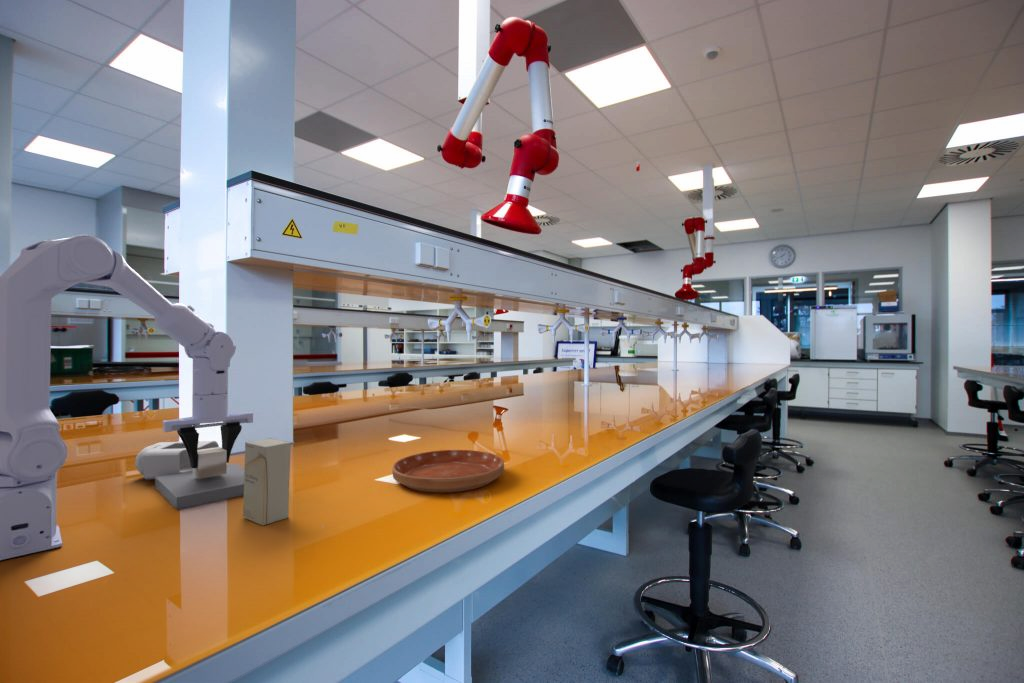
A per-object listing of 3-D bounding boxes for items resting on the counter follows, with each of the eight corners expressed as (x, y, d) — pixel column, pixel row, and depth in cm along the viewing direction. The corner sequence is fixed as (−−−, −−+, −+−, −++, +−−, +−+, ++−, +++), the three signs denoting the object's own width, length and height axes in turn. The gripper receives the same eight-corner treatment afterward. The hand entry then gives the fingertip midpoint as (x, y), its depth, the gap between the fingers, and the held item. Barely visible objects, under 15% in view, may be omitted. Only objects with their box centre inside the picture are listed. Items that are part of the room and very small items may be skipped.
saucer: (458, 505, 80) (458, 484, 80) (367, 485, 92) (367, 466, 92) (524, 474, 100) (524, 457, 100) (442, 460, 111) (442, 445, 111)
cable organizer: (125, 452, 91) (191, 450, 93) (163, 438, 103) (221, 437, 105) (125, 485, 91) (191, 483, 93) (163, 468, 103) (221, 466, 105)
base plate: (266, 490, 88) (266, 479, 88) (176, 509, 77) (176, 497, 77) (235, 472, 100) (235, 463, 100) (154, 486, 90) (155, 476, 90)
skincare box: (242, 518, 73) (242, 441, 74) (269, 509, 77) (269, 437, 77) (263, 526, 70) (264, 446, 70) (291, 517, 74) (291, 441, 74)
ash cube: (226, 473, 89) (226, 450, 89) (198, 478, 86) (199, 454, 86) (219, 469, 92) (219, 446, 92) (192, 474, 89) (192, 450, 89)
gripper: (245, 389, 97) (244, 454, 97) (159, 395, 86) (158, 467, 86) (256, 392, 92) (256, 460, 92) (167, 398, 81) (167, 475, 81)
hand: (210, 464), depth 89 cm, fingers closed on ash cube, 4 cm apart
